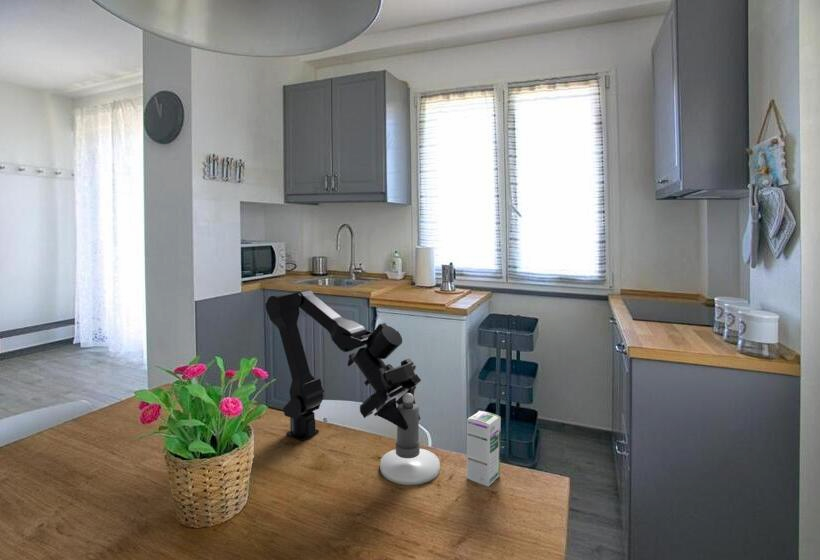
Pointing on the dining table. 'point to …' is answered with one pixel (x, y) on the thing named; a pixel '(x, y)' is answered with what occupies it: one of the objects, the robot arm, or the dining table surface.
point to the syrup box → (483, 447)
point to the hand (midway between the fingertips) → (413, 424)
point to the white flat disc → (410, 467)
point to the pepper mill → (408, 438)
